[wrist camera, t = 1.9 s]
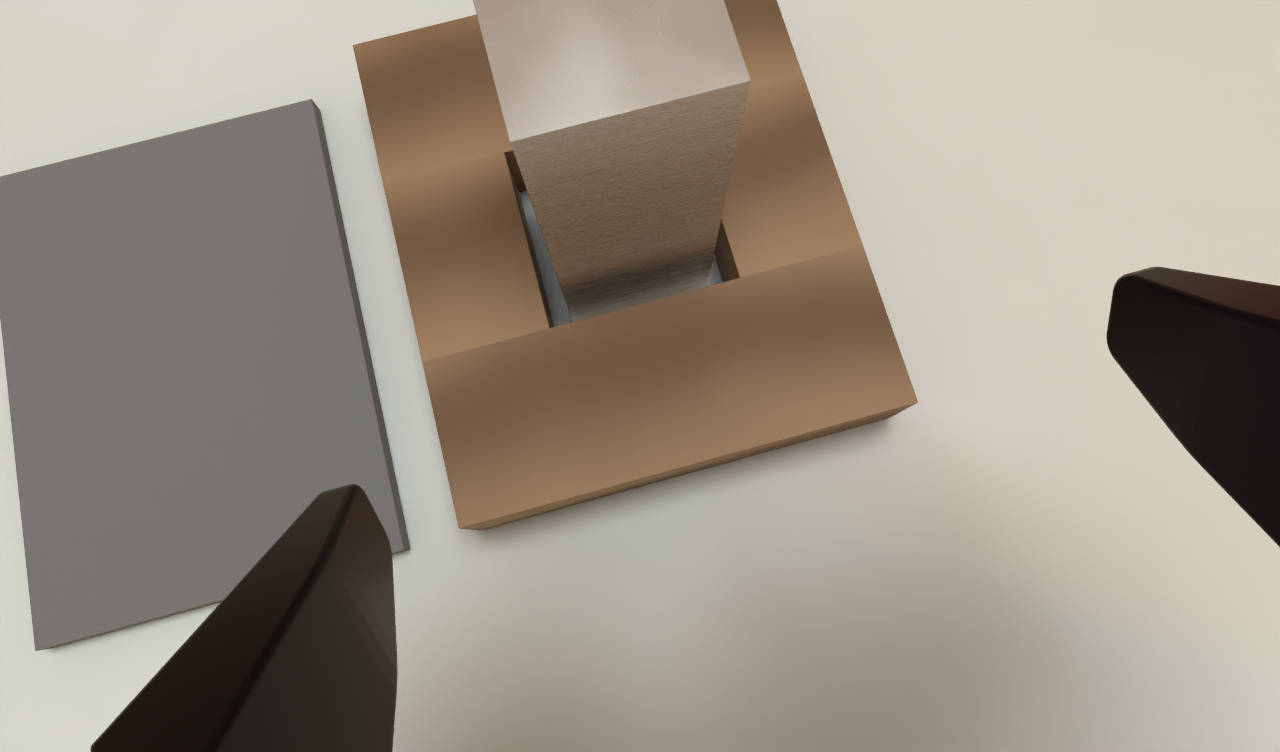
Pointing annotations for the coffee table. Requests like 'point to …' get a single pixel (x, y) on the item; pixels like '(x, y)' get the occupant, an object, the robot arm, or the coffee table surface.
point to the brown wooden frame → (631, 337)
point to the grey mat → (181, 367)
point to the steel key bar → (620, 136)
